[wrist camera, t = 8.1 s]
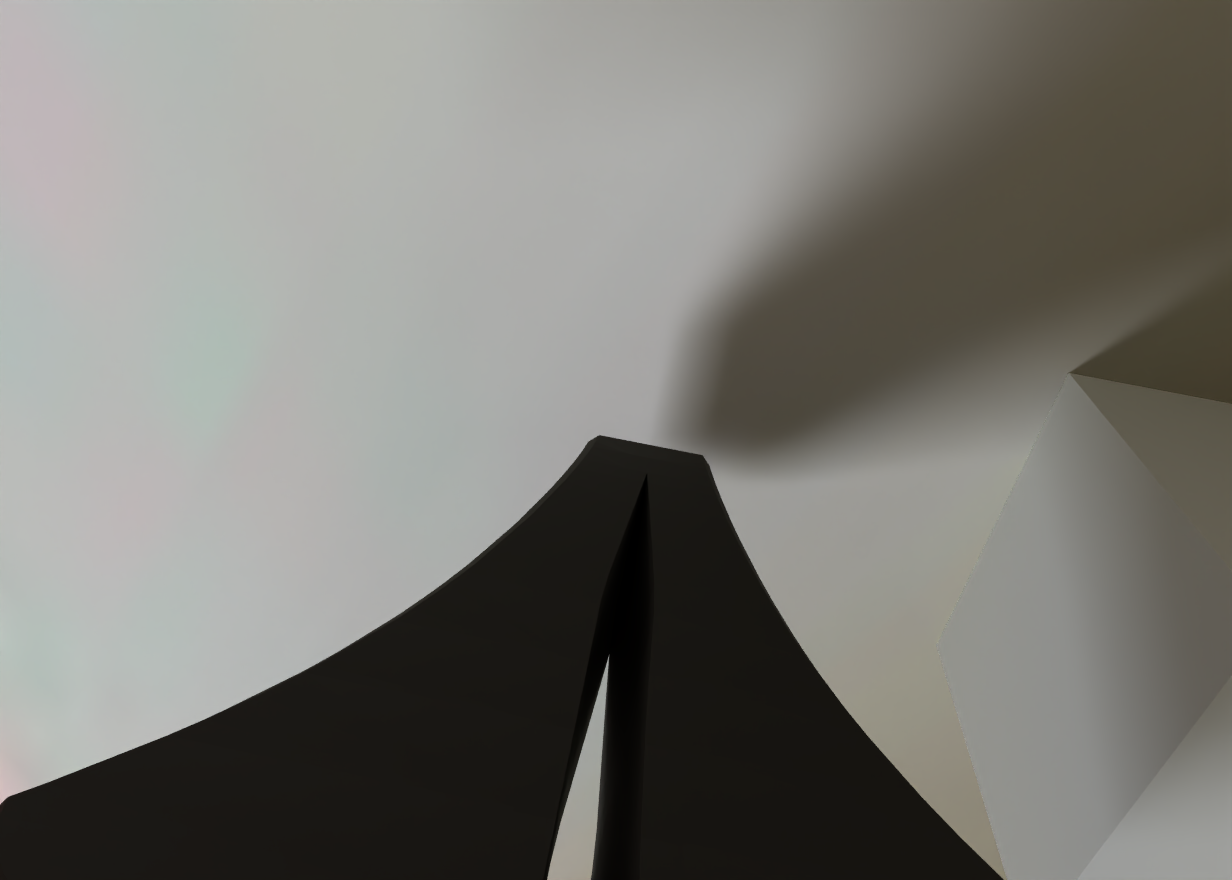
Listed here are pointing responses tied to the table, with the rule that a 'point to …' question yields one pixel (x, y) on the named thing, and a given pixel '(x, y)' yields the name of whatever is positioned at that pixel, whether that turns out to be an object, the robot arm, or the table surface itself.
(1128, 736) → the plug
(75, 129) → the table surface
